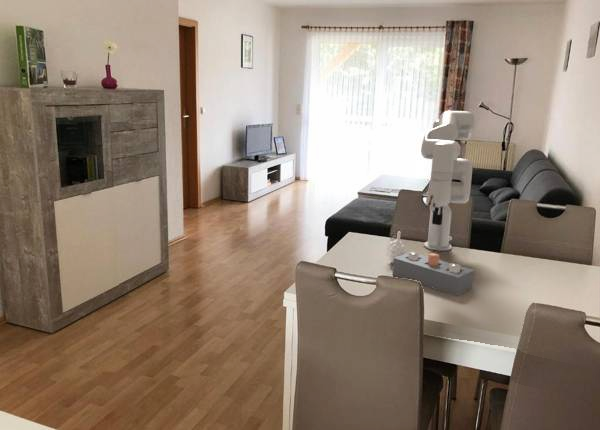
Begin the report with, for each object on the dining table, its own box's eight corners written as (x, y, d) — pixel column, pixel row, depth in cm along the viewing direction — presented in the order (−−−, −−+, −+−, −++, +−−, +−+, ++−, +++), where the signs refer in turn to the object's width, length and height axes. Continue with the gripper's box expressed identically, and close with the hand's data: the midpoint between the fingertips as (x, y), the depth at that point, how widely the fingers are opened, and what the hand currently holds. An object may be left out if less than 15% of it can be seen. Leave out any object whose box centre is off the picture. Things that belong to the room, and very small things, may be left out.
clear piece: (450, 282, 192) (452, 262, 190) (460, 285, 189) (462, 265, 187) (445, 285, 189) (447, 265, 187) (454, 288, 186) (457, 267, 184)
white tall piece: (403, 260, 218) (405, 229, 215) (404, 265, 212) (407, 233, 209) (386, 259, 219) (388, 228, 215) (387, 264, 213) (389, 232, 209)
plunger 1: (410, 269, 204) (412, 251, 202) (419, 272, 202) (420, 253, 200) (404, 272, 202) (406, 253, 200) (413, 274, 199) (415, 255, 197)
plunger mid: (430, 272, 198) (432, 252, 196) (439, 274, 195) (441, 255, 193) (424, 274, 195) (426, 254, 193) (433, 277, 192) (435, 257, 190)
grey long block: (409, 267, 209) (411, 251, 208) (472, 287, 190) (474, 270, 188) (392, 274, 201) (393, 258, 199) (456, 295, 182) (458, 277, 180)
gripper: (443, 172, 193) (438, 219, 198) (421, 176, 183) (417, 225, 188) (460, 175, 188) (455, 222, 193) (439, 179, 178) (435, 229, 182)
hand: (436, 224), depth 190 cm, fingers closed
